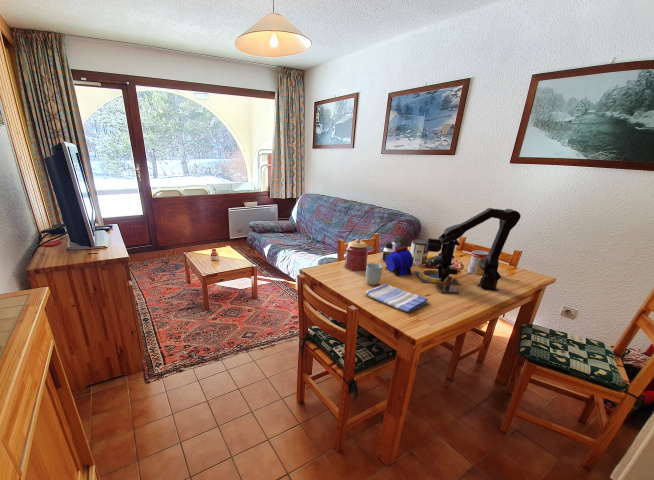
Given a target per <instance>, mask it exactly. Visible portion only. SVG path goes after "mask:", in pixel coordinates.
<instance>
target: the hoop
mask: <svg viewBox="0 0 654 480" xmlns="http://www.w3.org/2000/svg"><path fill="white" fill-rule="evenodd" d="M418 272H419V277H420V278H421V279H424V280H426V281H429V282H433V283H432V284H442V285H446V284H445V283H446V281H447V278H446V279H445V280H444V281H443V282H441V279H439V278H433V277H429V276H427V275H425V274H427V273H435V274H438V269H437V268H436V269H435V268H423V269H421V270H420V271H418ZM449 276H452V280H451V282H452V281H453V280H455V276H454V275H453V274H450V275H449ZM419 277H418V278H419Z"/></svg>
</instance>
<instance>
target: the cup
mask: <svg viewBox="0 0 654 480" xmlns="http://www.w3.org/2000/svg"><path fill="white" fill-rule="evenodd" d="M382 271H383V266H382V265H381V264H380V263H367V267H366V269H365V282H366V284H368V285H369V286H378V285H379V283H380V281H381V279H382Z"/></svg>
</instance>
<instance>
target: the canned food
mask: <svg viewBox="0 0 654 480" xmlns="http://www.w3.org/2000/svg"><path fill="white" fill-rule="evenodd" d="M488 254H489V252H488V251H485V250H481V249H479V250H478V249H474V250H472V251H471V254H470V259H469V262H468V266H467V273H469V274H472V275H479V276H480V275H484V274H483V271H482V270H481V269H480V265H479V263H480V262H481V259H482V257H484V258H486V257H487V256H488Z"/></svg>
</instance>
